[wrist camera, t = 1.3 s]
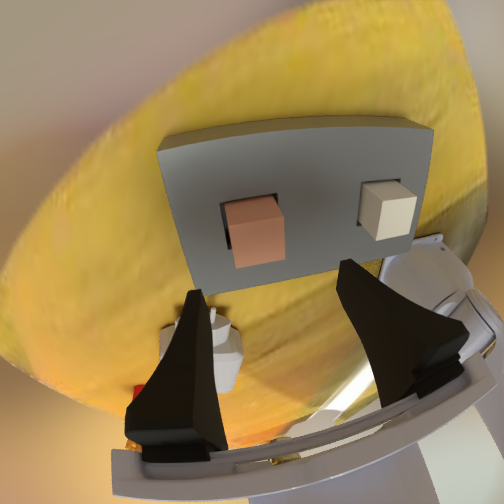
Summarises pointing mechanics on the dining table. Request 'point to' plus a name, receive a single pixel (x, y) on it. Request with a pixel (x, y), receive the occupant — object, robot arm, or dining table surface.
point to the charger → (217, 350)
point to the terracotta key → (255, 230)
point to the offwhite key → (385, 208)
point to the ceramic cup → (284, 458)
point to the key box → (290, 190)
